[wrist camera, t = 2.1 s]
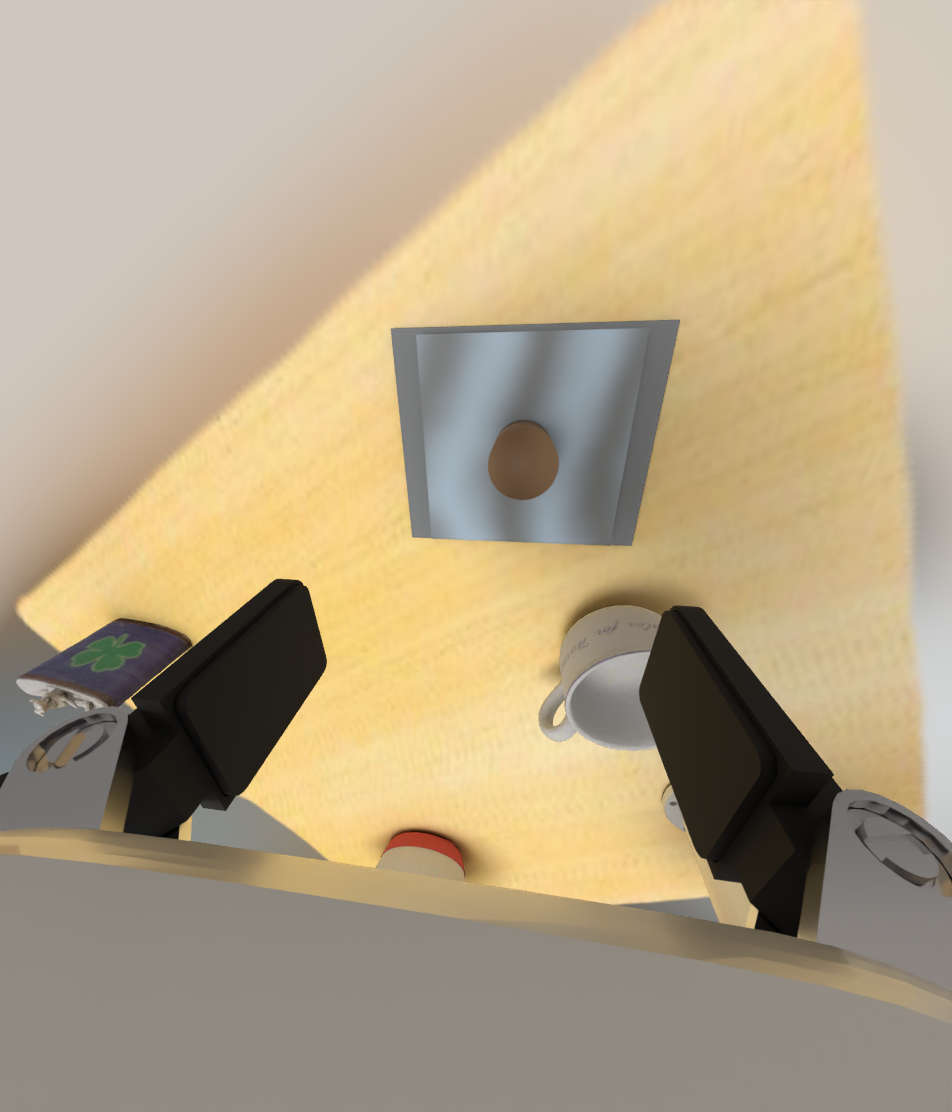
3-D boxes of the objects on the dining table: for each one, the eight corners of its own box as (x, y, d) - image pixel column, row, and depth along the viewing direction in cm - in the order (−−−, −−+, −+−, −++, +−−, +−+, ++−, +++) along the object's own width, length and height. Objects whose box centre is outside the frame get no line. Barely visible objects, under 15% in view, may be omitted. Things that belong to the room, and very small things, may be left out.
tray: (677, 320, 21) (680, 319, 21) (630, 543, 28) (631, 545, 27) (392, 329, 23) (390, 328, 23) (413, 535, 30) (412, 537, 29)
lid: (643, 330, 21) (686, 312, 16) (606, 539, 27) (627, 578, 22) (421, 336, 23) (388, 322, 17) (434, 532, 29) (414, 568, 23)
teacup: (653, 569, 29) (697, 631, 22) (692, 660, 32) (739, 738, 25) (506, 626, 33) (501, 693, 26) (554, 700, 37) (562, 776, 30)
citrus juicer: (364, 812, 52) (283, 1035, 34) (478, 832, 51) (455, 1074, 33) (371, 861, 59) (307, 1066, 41) (471, 880, 58) (449, 1100, 40)
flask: (118, 632, 40) (-7, 709, 31) (111, 612, 39) (-22, 687, 29) (194, 651, 40) (93, 735, 31) (190, 632, 39) (83, 713, 29)
